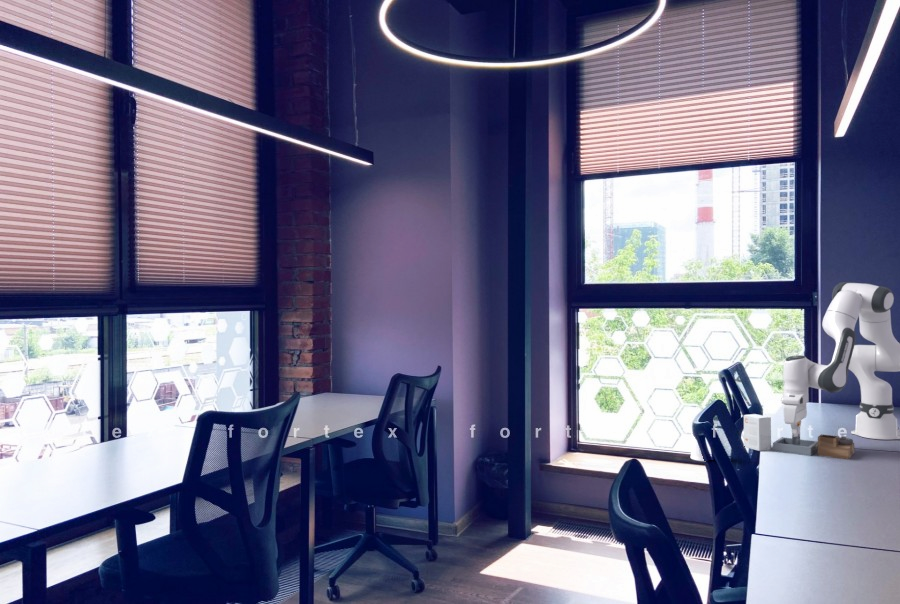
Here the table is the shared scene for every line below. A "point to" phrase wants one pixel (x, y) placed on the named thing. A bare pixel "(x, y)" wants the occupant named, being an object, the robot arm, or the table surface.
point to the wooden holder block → (835, 446)
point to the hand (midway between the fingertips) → (796, 432)
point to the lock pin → (796, 435)
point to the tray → (795, 446)
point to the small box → (757, 432)
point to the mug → (695, 449)
